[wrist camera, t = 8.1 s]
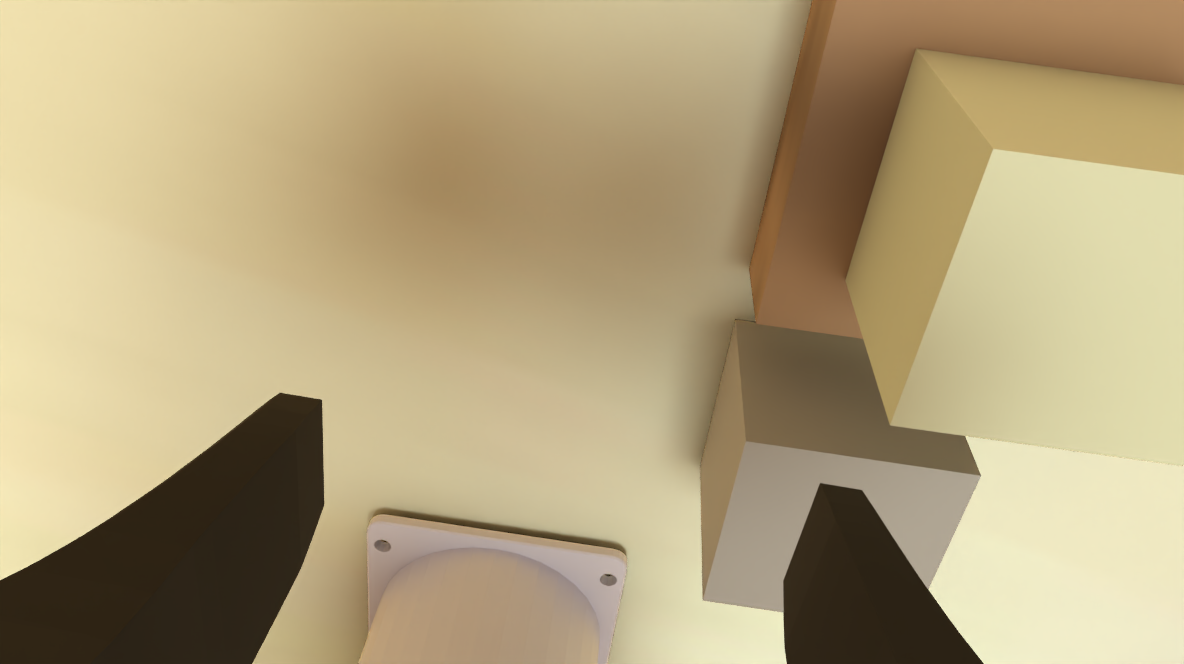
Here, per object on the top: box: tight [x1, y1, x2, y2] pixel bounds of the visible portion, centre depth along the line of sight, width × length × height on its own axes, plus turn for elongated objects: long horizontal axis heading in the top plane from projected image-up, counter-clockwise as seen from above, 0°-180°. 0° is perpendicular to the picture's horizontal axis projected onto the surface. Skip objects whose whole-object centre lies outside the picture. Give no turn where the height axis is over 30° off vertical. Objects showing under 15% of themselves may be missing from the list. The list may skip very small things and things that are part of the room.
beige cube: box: [845, 49, 1184, 466], centre depth 16 cm, size 5×5×5 cm
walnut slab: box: [749, 0, 1184, 339], centre depth 20 cm, size 8×8×3 cm
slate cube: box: [700, 319, 981, 612], centre depth 23 cm, size 5×5×5 cm
